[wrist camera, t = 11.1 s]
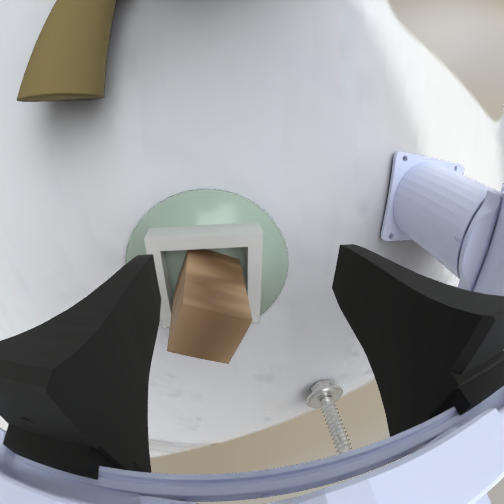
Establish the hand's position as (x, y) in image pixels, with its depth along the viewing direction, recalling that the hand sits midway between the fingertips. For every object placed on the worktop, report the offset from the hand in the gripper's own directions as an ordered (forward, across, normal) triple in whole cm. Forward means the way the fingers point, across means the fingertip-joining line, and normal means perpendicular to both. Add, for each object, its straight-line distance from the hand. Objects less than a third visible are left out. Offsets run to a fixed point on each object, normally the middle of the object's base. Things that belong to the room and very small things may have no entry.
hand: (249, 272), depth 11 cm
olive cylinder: (+7, +11, -8) cm, 15 cm away
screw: (+11, -11, +25) cm, 29 cm away
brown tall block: (+10, +2, +6) cm, 12 cm away
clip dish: (+10, +2, +6) cm, 12 cm away
